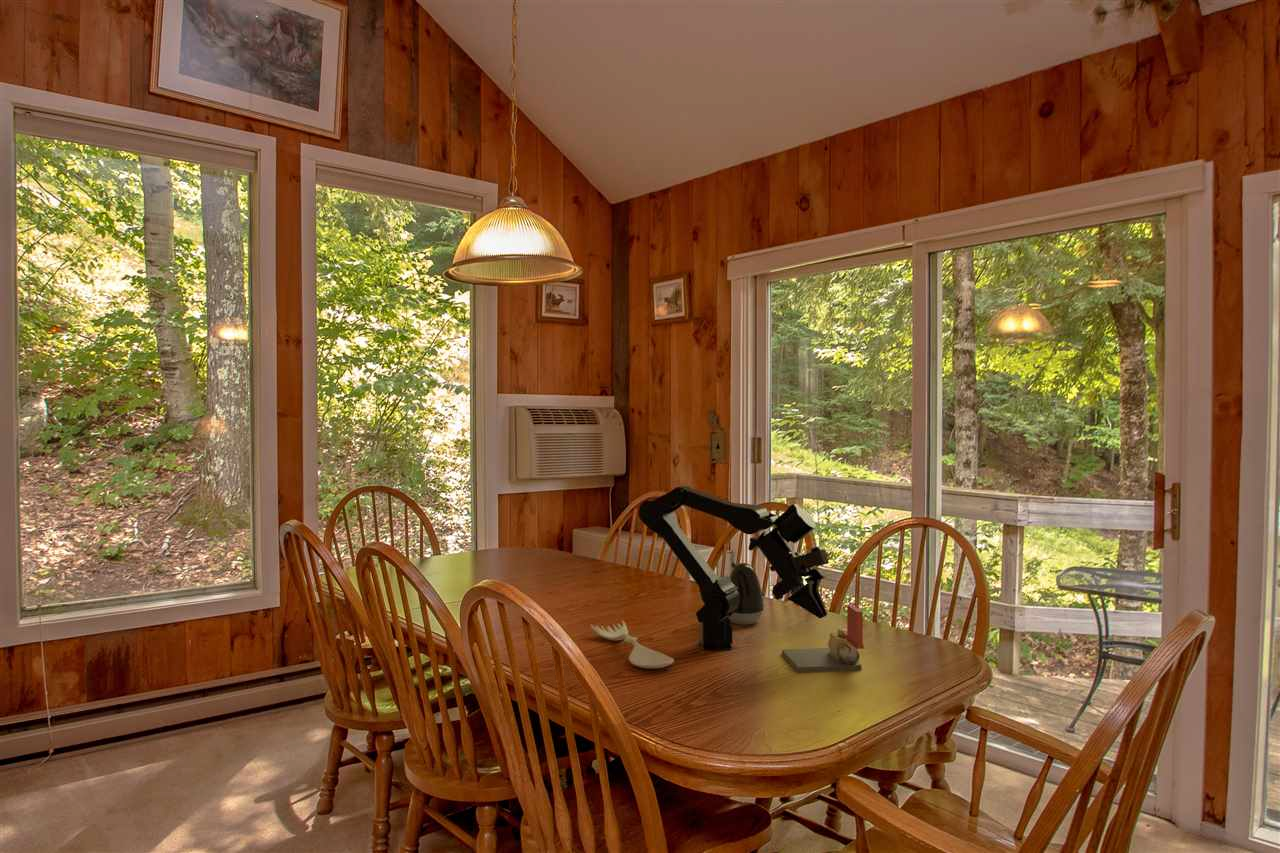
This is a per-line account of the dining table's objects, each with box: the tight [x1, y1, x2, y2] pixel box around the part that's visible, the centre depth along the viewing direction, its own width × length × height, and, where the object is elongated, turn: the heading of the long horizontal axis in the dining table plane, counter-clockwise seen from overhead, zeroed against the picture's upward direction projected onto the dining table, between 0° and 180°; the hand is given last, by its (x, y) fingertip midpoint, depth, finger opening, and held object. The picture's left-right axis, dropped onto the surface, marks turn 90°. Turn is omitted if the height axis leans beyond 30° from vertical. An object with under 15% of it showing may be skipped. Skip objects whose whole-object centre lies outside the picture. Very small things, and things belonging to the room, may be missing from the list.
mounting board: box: [781, 647, 862, 673], centre depth 168 cm, size 14×12×1 cm
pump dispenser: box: [728, 562, 765, 626], centre depth 199 cm, size 10×10×15 cm
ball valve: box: [827, 631, 861, 665], centre depth 166 cm, size 4×9×5 cm, turn 6°
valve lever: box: [837, 604, 865, 650], centre depth 162 cm, size 11×2×8 cm, turn 5°
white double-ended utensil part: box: [590, 620, 675, 670], centre depth 175 cm, size 9×32×4 cm, turn 23°
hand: (823, 616), depth 165 cm, fingers closed
